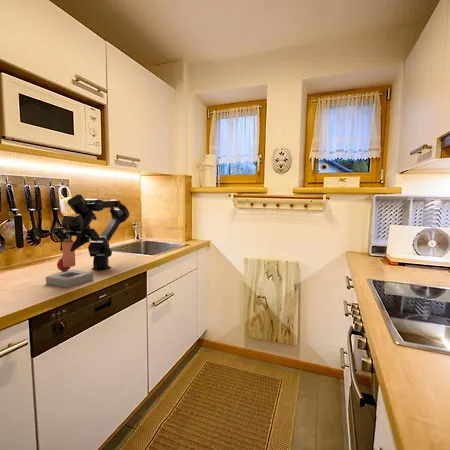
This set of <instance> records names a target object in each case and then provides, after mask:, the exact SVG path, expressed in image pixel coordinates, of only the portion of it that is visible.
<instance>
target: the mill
mask: <svg viewBox="0 0 450 450" xmlns="http://www.w3.org/2000/svg"><path fill="white" fill-rule="evenodd" d="M74 242H75V240H73V238H70V239H64V242H62V251H61V252H62V256H63V267H75V266H76V250H74V251H73V252H72V251H71V248H72V246H73V244H74Z"/></svg>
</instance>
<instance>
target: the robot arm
mask: <svg viewBox="0 0 450 450" xmlns="http://www.w3.org/2000/svg"><path fill="white" fill-rule="evenodd" d="M67 205H68V206H69V208H70V209H71V210H72V211H73V212H74V213H75V215H76V216H71V215H64V216H63V218H62V222H61V224H62V225H65V226H66V228H67V229H65V228H64V227H62V226H61V227H58V226H57V227H53V228H52V230H51V233H52V234H53V235H54V236H55V237H56V238H57V239H58V240H60V246H59V247H60V248H59V250H60V251H61V252H62V242H64V239H71V238H70V237H76V238H75V240H74V244H73V246H72V248H71V251H72V252H73V251H74V250H75V251H76V250H77V249H79V248H80V247H81V246H84V245H85V244H87V243H89V244H88V247H87V248H88V249H87V250H88V253H89V257H90V258H91V257H93V261H92V262H93V263H92V265H93V266H92V267H91V269H92V270H95V271H103V270H106V269H110V268H112V266H111V265H109V258H110V257H111V256H112V255H113V254H112V253H113V251H112V249H111V248H110V242H111V241H110V240H111V239H112V237H113V236H114V234H115V232H116V231H117V230H118V228H119V226H120V225H121V224H122V223H124V222H126V221H127V220H128V219H129V216H130V212H129V209H128V207H127V206H125V205H124V204H123V203H121V201H120V200H119V199H110V200H103V199H99V198H85V199H84V197H83V196H82V194H76V195H74V196H72V197H70V198H69V199H68V200H67ZM104 209H109V212H110V216H111V219H110V220H109V222H108V224H107V225H106V227H105V228H104V229H103V231H102V233H101V234H100V235H99V233H98V232H97V231H96V229H95V228H91V223H92V221H96V220H97V216H96V214H95V212H101V211H103V210H104Z"/></svg>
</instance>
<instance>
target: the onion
mask: <svg viewBox="0 0 450 450" xmlns="http://www.w3.org/2000/svg"><path fill="white" fill-rule="evenodd" d="M56 267H57V269H58V270H59V271H61V272H65V271H69V270H71V267H63V255H62V257H61V258H59V259H58V261H57V263H56Z"/></svg>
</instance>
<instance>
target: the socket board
mask: <svg viewBox="0 0 450 450" xmlns="http://www.w3.org/2000/svg"><path fill="white" fill-rule="evenodd" d="M92 280H94V272H91V271H84V270H78V269H69V270H68V271H65V272H62V271H61V272H59V273H58V272H57V273H55V274H51V275H47V276H45V284H46V285H49V286H54V287H55V286H56V287H60V288H65V289H69V288H72V287H75V286H77V285H81V284H83V283H87V282H89V281H92Z"/></svg>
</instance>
